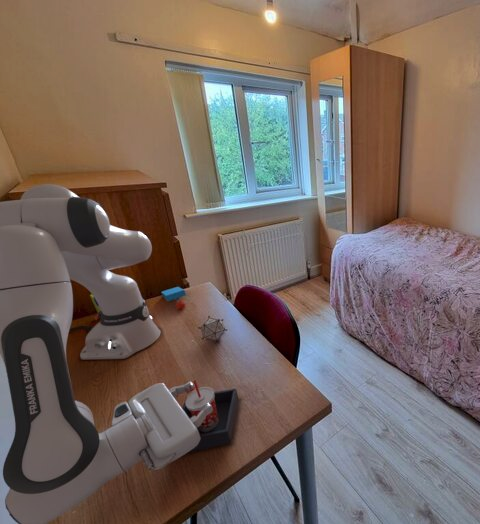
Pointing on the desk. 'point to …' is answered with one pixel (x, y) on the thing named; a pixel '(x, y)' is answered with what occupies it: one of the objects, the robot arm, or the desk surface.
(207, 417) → the beverage cup
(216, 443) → the tote
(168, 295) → the lever
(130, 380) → the desk surface
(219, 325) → the game die
